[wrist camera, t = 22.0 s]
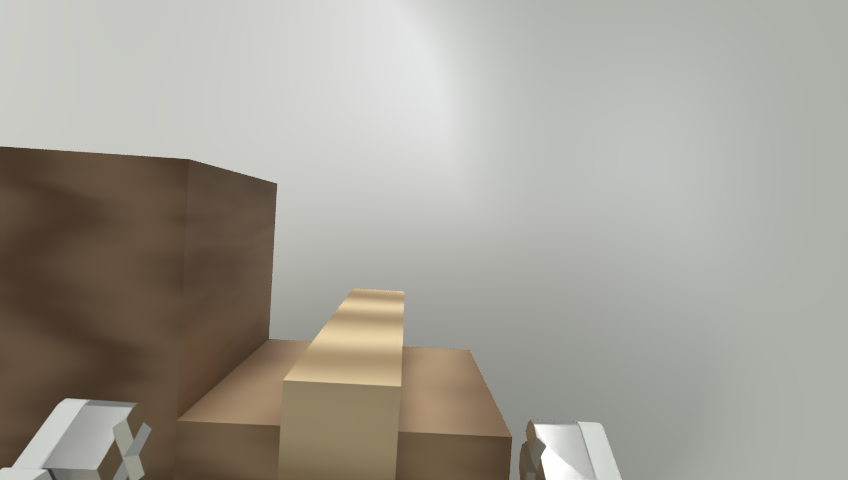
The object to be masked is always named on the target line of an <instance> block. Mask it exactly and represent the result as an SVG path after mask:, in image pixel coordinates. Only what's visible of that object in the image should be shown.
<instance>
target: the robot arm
mask: <svg viewBox="0 0 848 480" xmlns="http://www.w3.org/2000/svg"><path fill="white" fill-rule="evenodd" d="M146 416H147V411H146V409H145V406H144V404H142V403H130V402H116V401H102V400H86V399H68V398H66V399H65V400H63V401H62V402H60V403H59V404H58V405H57V406H56V407H55V409H54V410H53V411H52V413H51V414H50V416H49V417H48V418H47V420H46V421H45V422H44V424H43V425H42V426H41V428H40V429H39V431H38V432H37V433H36V435H35V436H34V437H33V439H32V440H31V441H30V443H29V444H28V446H27V447H26V448H25V450H24V451H23V452H22V454H21V455H20V456H19V458H18V459H17V461H16V462H15V463H14V465H13V466H12V467H11V468H2V469H1V470H0V480H138V479H140V478H141V477H142V476H144V475H145V473H146V471H147V469H148V466H149V464H150V462H151V458H152V454H153V450H154V435H153V431H152V428H150V427H149V426H148V425H146V424H145V423H144V420H145V418H146ZM526 435H527V440H528V441H526V442H525V443H524V444H522V448H521V453H520V463H519V471H520V480H622V479H621V476H620V473H619V470H618V467H617V464H616V462H615V459H614V456H613V453H612V451H611V448H610V445H609V442H608V439H607V437H606V433H605V431H604V428H603V426H602V425H601V424H600V423H592V422H591V423H590V422H574V421H551V420H530V421H529V423H528V425H527V428H526Z"/></svg>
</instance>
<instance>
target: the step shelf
mask: <svg viewBox="0 0 848 480" xmlns="http://www.w3.org/2000/svg"><path fill="white" fill-rule="evenodd" d="M276 192H277V184H276V183H273V182H269V181H266V180H262V179H258V178H255V177H251V176H247V175H244V174H240V173H237V172H233V171H230V170H226V169H222V168H219V167H215V166H211V165H208V164H204V163H201V162H197V161H193V160H190V159H177V158H162V157H148V156H147V157H146V156H133V155H118V154H103V153H88V152H72V151H59V150H44V149H28V148H14V147H0V470H1V469H2V468H11V467H12V466H13V465H14V463H15V462H16V461H17V459H18V458H19V456H20V455H21V454H22V452H23V451H24V450H25V448H26V447H27V446H28V444H29V443H30V441H31V440H32V439H33V437H34V436H35V435H36V433H37V432H38V431H39V429H40V428H41V426H42V425H43V424H44V422H45V421H46V420H47V418H48V417H49V416H50V414H51V413H52V411H53V410H54V409H55V407H56V406H57V405H58V404H59V403H60V402H62V401H63V400H65V399H66V398H68V399H86V400H102V401H116V402H130V403H142V404H144V406H145V409H146V411H147V416H146V418H145V420H144V423H145V424H146V425H148V426H149V427H150V428H152V431H153V435H154V450H153V454H152V458H151V462H150V464H149V466H148V469H147V471H146V473H145V475H144V476H142V477H141V478H140V479H138V480H278V462H279V443H280V425H281V407H282V389H283V379H284V378H285V377H286V376H287V374H288V373H289V372H290V370H291V369H292V368H293V366H294V365H295V364H296V363H297V361H298V360H299V359H300V357H301V356H302V355H303V353H304V352H305V351H306V350H307V348H308V347H309V346H310V344H311V343H312V342H311V341H294V340H275V339H269V324H270V322H269V321H270V303H271V285H272V268H273V249H274V229H275V212H276V194H277V193H276ZM511 444H512V436H511V434H510V432H509V430H508V428H507V426H506V424H505V422H504V420H503V418H502V415H501V413H500V411H499V409H498V407H497V406H496V403H495V401H494V399H493V397H492V395H491V393H490V391H489V389H488V387H487V385H486V383H485V381H484V379H483V377H482V375H481V373H480V371H479V369H478V367H477V365H476V363H475V361H474V359H473V357H472V355H471V353H470V350H455V349H437V348H420V347H402V374H401V395H400V411H399V427H398V442H397V458H396V474H395V480H509V474H510V459H511Z"/></svg>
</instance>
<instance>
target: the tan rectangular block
mask: <svg viewBox="0 0 848 480" xmlns="http://www.w3.org/2000/svg"><path fill="white" fill-rule="evenodd" d="M403 316H404V292H402V291H386V290H368V289H353V290H352V291H351V293H350V294H349V295H348V296H347V298H346V299H345V300H344V302H343V303H342V304H341V305H340V307H339V308H338V309H337V311H336V312H335V313H334V315H333V316H332V317H331V318H330V320H329V321H328V322H327V324H326V325H325V326H324V328H323V329H322V330H321V331H320V333H319V334H318V335H317V337H316V338H315V339H314V341H313V342H312V343H311V344H310V346H309V347H308V348H307V350H306V351H305V352H304V353H303V355H302V356H301V357H300V359H299V360H298V361H297V363H296V364H295V365H294V366H293V368H292V369H291V370H290V372H289V373H288V374H287V376H286V377H285V378H284V379H283V389H282V407H281V425H280V443H279V462H278V480H395V474H396V458H397V442H398V427H399V411H400V395H401V374H402V344H403Z"/></svg>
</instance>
